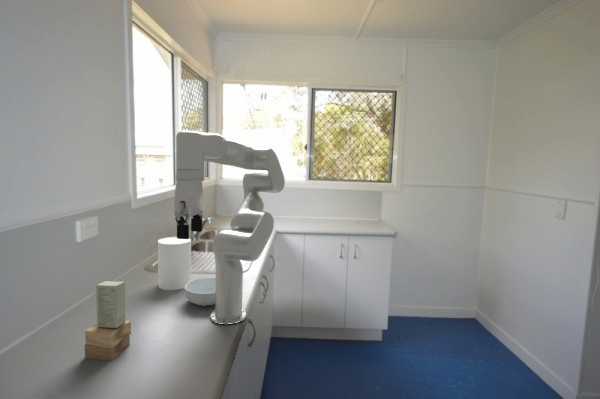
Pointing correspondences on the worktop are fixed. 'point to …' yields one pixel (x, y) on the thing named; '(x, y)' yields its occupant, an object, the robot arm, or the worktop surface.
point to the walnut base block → (106, 350)
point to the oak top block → (107, 335)
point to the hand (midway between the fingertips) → (190, 234)
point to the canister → (174, 263)
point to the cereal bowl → (201, 291)
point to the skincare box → (110, 304)
